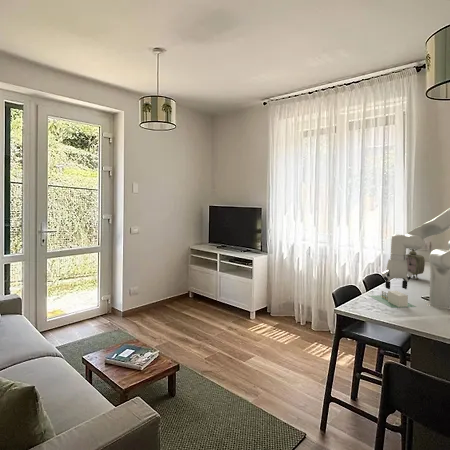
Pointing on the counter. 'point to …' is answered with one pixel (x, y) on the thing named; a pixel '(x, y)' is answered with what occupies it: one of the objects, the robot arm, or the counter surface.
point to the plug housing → (398, 298)
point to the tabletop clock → (415, 263)
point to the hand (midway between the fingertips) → (396, 288)
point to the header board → (384, 300)
